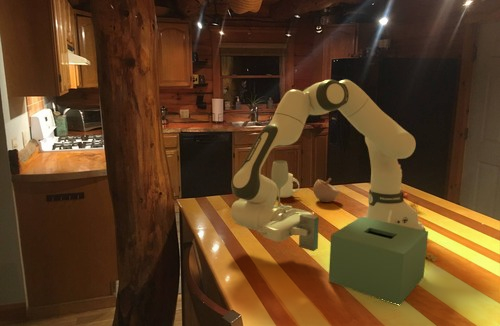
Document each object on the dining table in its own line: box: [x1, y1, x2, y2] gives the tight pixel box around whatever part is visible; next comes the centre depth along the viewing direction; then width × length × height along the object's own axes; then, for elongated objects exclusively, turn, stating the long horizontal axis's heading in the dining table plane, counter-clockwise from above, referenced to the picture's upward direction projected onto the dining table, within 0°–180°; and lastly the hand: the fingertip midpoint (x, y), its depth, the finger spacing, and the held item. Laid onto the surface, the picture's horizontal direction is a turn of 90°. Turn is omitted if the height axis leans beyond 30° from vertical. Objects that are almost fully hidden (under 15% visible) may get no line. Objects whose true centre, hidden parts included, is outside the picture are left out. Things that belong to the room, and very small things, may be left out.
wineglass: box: [270, 160, 289, 207], centre depth 179 cm, size 8×8×21 cm
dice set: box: [426, 252, 437, 262], centre depth 131 cm, size 5×5×2 cm
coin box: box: [328, 216, 429, 306], centre depth 114 cm, size 20×20×14 cm
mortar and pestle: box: [312, 177, 340, 203], centre depth 190 cm, size 12×12×11 cm
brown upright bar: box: [298, 213, 320, 252], centre depth 121 cm, size 5×2×10 cm, turn 51°
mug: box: [277, 172, 300, 199], centre depth 199 cm, size 9×12×11 cm
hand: (311, 231), depth 120 cm, fingers closed on brown upright bar, 2 cm apart
